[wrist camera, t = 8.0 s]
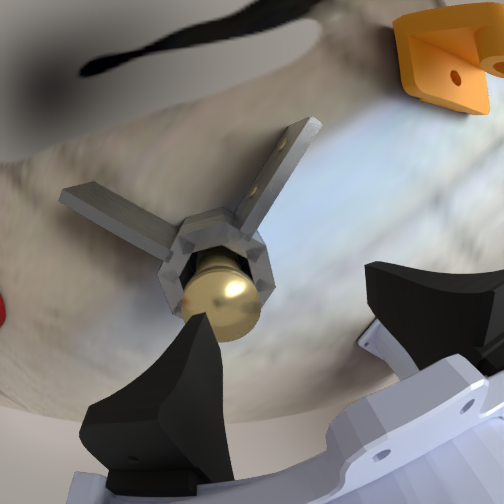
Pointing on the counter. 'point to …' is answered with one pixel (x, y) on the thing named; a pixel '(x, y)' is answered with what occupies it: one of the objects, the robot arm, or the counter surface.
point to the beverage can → (2, 312)
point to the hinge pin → (222, 294)
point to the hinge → (201, 221)
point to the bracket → (451, 54)
